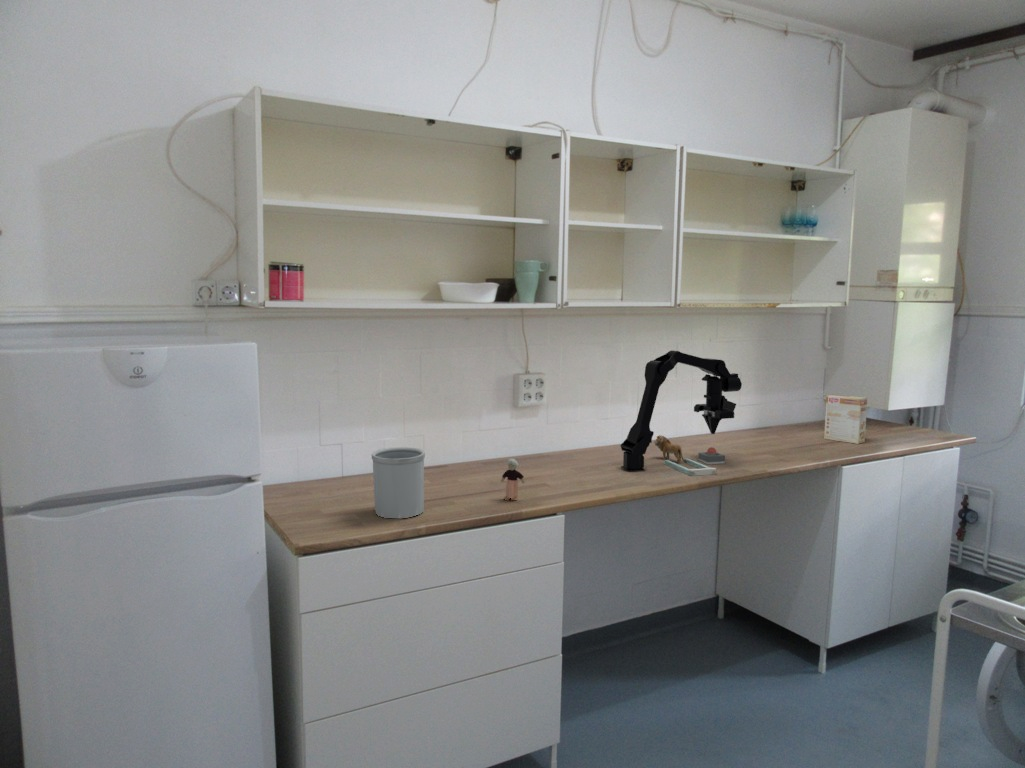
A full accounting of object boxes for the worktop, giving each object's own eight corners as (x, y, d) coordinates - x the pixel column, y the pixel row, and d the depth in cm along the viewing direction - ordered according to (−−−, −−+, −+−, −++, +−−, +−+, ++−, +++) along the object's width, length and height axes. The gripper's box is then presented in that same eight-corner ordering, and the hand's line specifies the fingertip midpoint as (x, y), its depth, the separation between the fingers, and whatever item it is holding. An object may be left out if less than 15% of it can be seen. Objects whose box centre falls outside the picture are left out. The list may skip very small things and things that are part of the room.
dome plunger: (710, 459, 271) (710, 448, 270) (705, 457, 274) (705, 446, 273) (717, 458, 272) (718, 448, 271) (712, 456, 275) (713, 446, 274)
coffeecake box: (865, 442, 312) (868, 397, 310) (858, 444, 308) (861, 398, 305) (830, 437, 323) (833, 393, 321) (823, 439, 319) (825, 395, 316)
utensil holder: (409, 523, 197) (408, 459, 195) (362, 516, 202) (361, 455, 200) (434, 508, 211) (434, 449, 209) (390, 503, 216) (389, 445, 214)
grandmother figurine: (499, 500, 219) (499, 459, 218) (501, 497, 223) (501, 457, 221) (524, 501, 218) (524, 460, 216) (525, 498, 222) (526, 457, 220)
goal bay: (690, 476, 251) (691, 470, 251) (664, 464, 269) (664, 458, 269) (716, 474, 254) (716, 468, 253) (688, 462, 272) (688, 457, 271)
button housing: (708, 464, 269) (708, 456, 268) (698, 460, 275) (698, 452, 275) (724, 463, 271) (725, 455, 270) (714, 459, 277) (714, 451, 277)
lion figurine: (651, 458, 279) (652, 435, 278) (660, 456, 282) (661, 433, 281) (682, 465, 267) (683, 441, 266) (691, 463, 271) (692, 439, 270)
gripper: (747, 395, 263) (746, 437, 265) (719, 388, 281) (717, 428, 283) (721, 396, 260) (719, 438, 262) (693, 389, 278) (692, 429, 280)
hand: (712, 433), depth 272 cm, fingers closed
